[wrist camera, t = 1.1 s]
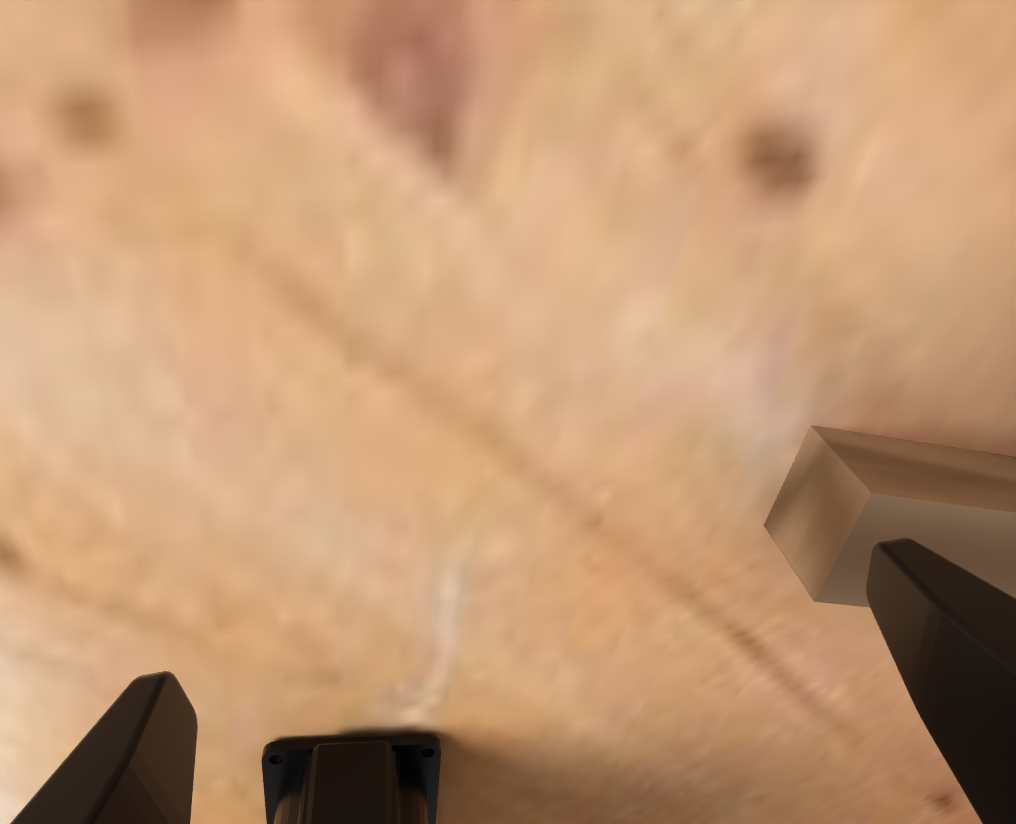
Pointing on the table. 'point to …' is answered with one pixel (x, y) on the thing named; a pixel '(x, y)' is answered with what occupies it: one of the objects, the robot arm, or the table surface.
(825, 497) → the tan rectangular beam
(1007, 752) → the robot arm
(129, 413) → the table surface
